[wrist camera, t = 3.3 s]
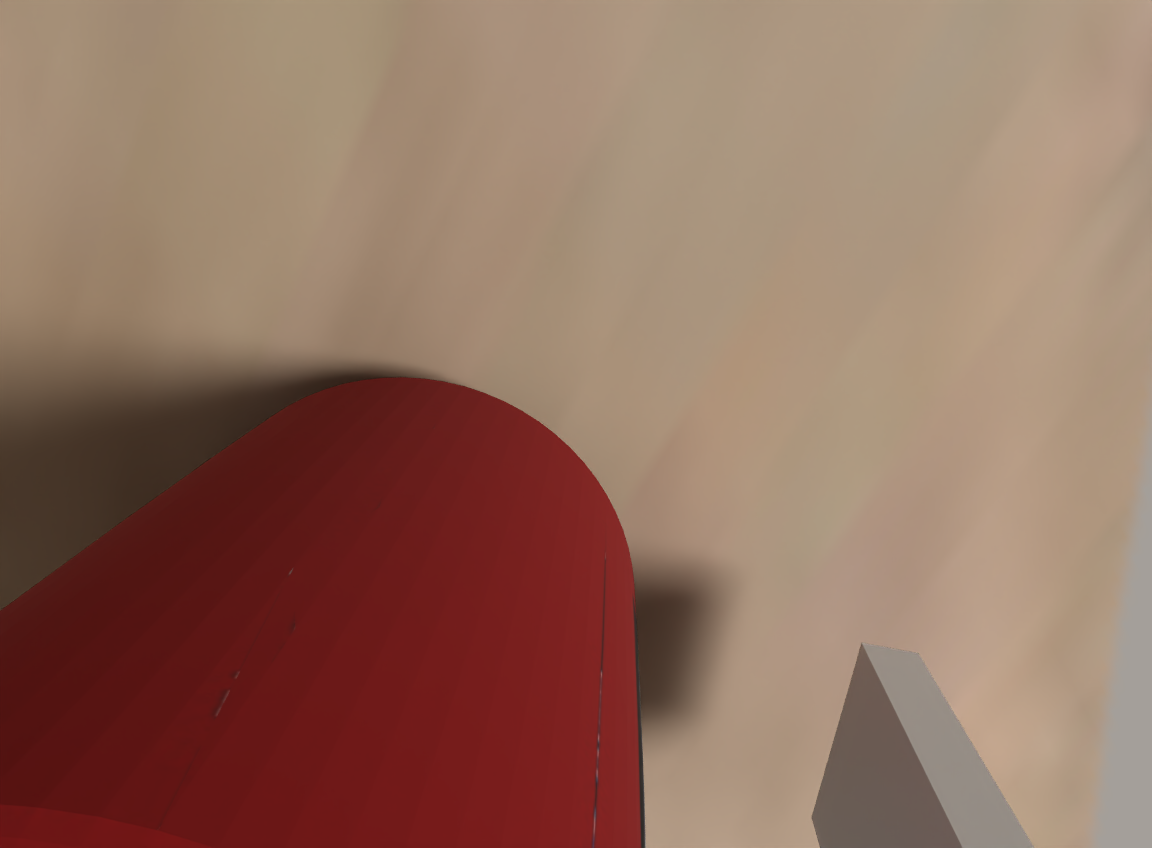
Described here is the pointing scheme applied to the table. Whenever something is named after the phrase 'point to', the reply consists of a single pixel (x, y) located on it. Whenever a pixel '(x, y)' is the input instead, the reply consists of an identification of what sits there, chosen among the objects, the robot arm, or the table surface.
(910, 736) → the robot arm
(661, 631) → the table surface
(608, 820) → the beverage can
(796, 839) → the table surface
